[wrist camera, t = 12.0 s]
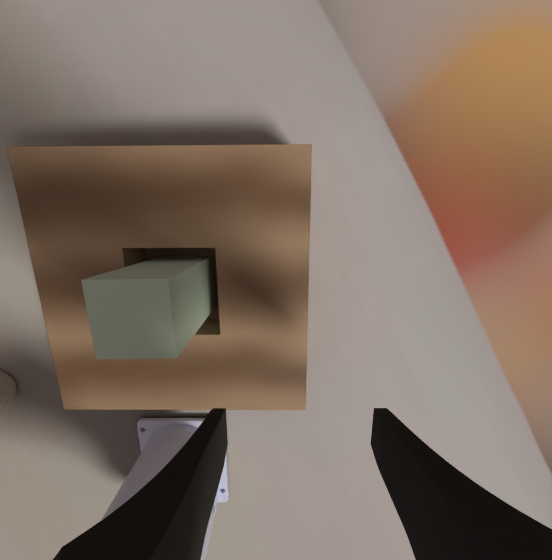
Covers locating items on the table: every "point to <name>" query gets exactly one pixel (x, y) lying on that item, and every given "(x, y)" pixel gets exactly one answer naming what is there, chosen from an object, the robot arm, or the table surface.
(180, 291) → the peg
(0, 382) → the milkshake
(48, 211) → the socket block
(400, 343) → the table surface
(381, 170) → the table surface
